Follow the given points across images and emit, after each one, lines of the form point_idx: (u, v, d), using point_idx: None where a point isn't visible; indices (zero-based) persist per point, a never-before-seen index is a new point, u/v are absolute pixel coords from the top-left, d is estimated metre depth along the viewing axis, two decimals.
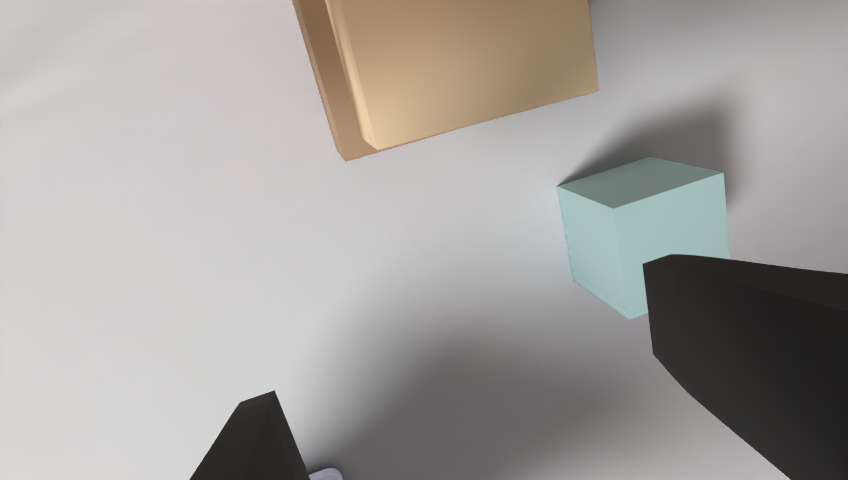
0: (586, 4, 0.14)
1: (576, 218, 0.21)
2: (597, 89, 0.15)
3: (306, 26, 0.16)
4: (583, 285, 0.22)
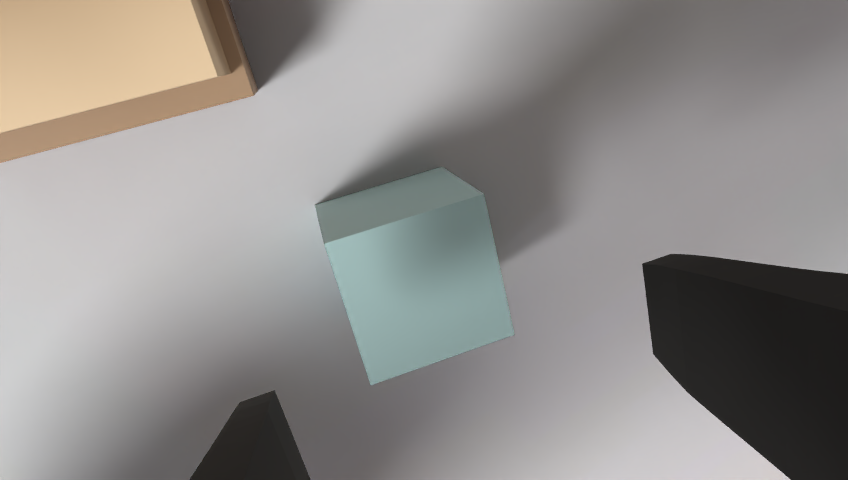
0: None
1: None
2: (213, 74, 0.10)
3: None
4: None
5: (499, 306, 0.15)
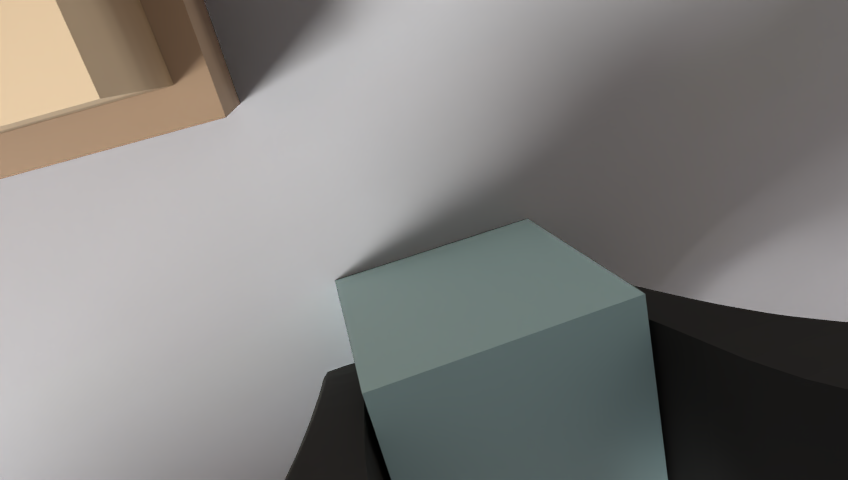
0: None
1: None
2: (87, 94, 0.04)
3: None
4: None
5: (653, 473, 0.09)
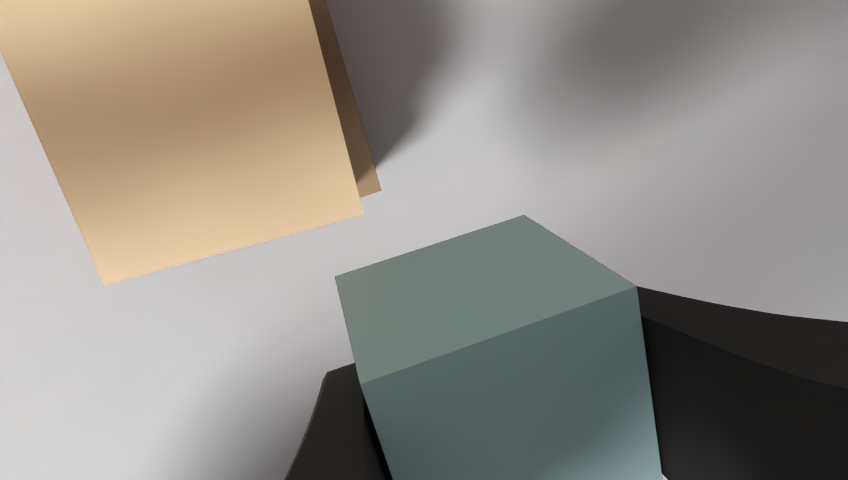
0: (340, 125, 0.13)
1: None
2: (361, 213, 0.14)
3: None
4: None
5: (646, 463, 0.09)
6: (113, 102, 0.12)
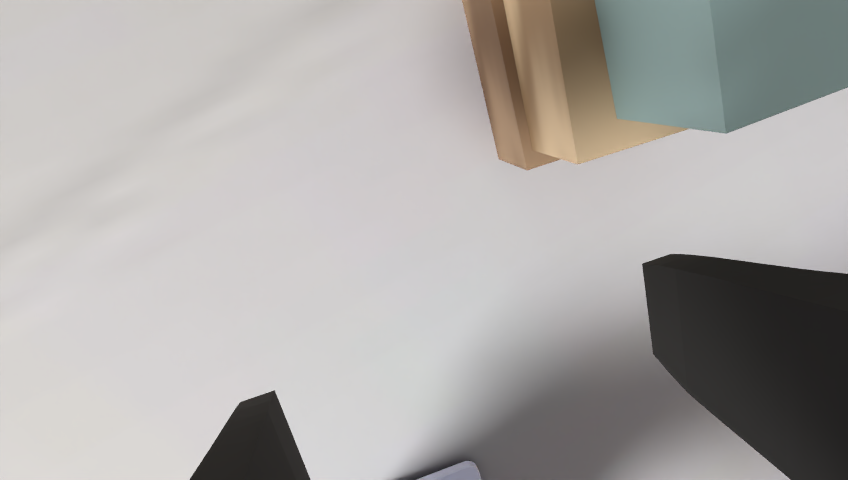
0: None
1: None
2: None
3: (501, 47, 0.17)
4: (636, 116, 0.14)
5: None
6: None
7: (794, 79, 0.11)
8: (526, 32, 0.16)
